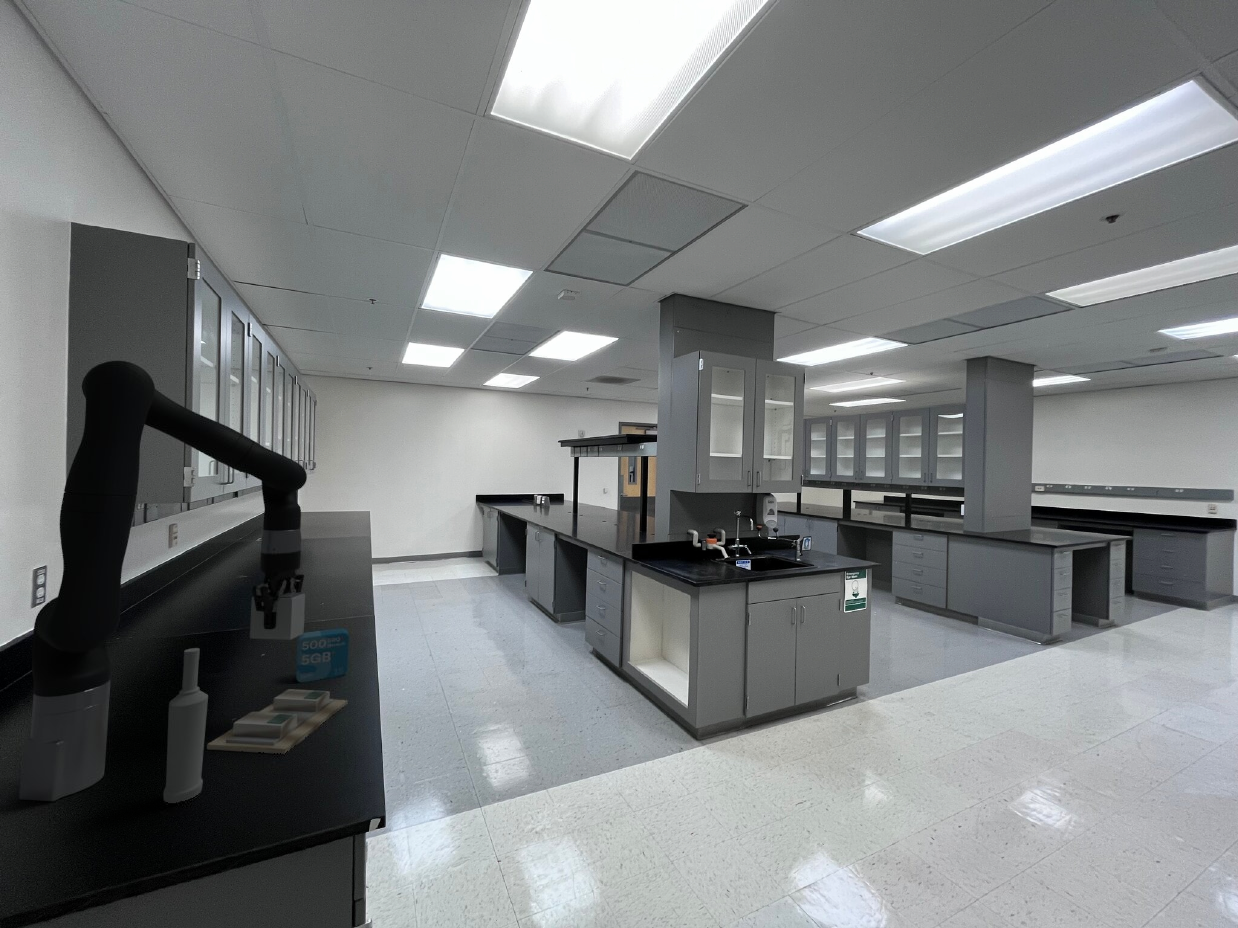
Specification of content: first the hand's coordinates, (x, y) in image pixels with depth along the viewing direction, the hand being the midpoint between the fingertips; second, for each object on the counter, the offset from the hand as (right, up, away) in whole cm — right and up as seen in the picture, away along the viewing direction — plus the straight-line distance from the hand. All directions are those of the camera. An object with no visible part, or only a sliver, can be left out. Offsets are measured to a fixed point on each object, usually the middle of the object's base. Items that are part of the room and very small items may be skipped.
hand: (277, 624), depth 113 cm
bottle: (+1, -21, -26) cm, 34 cm away
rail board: (+2, -22, -1) cm, 22 cm away
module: (0, -2, 0) cm, 2 cm away
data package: (-5, -22, +25) cm, 34 cm away
